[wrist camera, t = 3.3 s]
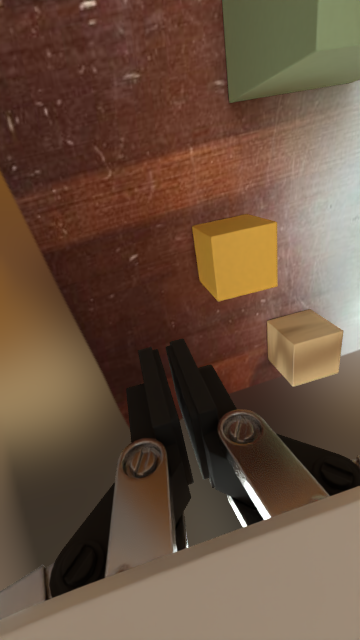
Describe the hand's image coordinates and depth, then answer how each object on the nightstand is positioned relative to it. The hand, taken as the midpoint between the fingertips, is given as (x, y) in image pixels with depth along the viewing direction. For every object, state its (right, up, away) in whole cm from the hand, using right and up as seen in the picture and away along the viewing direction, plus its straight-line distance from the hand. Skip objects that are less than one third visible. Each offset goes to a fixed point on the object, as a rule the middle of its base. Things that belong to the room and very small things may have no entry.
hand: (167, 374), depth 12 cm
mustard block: (+4, +9, +14) cm, 17 cm away
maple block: (+12, +1, +20) cm, 24 cm away
